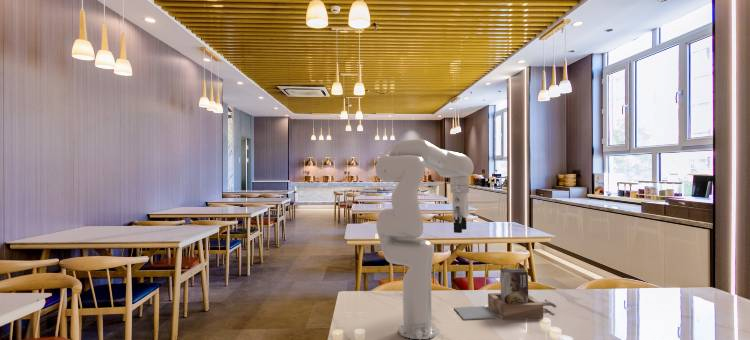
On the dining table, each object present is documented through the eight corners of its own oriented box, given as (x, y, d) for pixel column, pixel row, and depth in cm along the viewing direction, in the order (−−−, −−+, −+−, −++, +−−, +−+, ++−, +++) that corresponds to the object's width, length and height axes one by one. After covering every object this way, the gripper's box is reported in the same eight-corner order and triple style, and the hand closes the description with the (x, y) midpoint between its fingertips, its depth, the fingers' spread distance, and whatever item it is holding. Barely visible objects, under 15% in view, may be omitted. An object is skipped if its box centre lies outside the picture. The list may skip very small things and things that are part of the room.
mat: (495, 318, 145) (495, 317, 145) (463, 320, 144) (463, 318, 144) (483, 307, 157) (483, 306, 157) (453, 308, 156) (453, 307, 156)
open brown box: (563, 316, 146) (562, 303, 146) (504, 319, 144) (503, 305, 144) (541, 303, 161) (541, 291, 161) (488, 305, 159) (487, 293, 159)
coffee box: (524, 309, 155) (523, 267, 155) (529, 315, 149) (528, 271, 149) (500, 308, 156) (500, 267, 156) (504, 314, 149) (503, 271, 150)
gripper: (465, 190, 154) (465, 234, 154) (472, 188, 170) (473, 228, 170) (445, 190, 157) (446, 233, 157) (455, 188, 173) (455, 227, 173)
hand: (460, 230), depth 163 cm, fingers open, 9 cm apart
